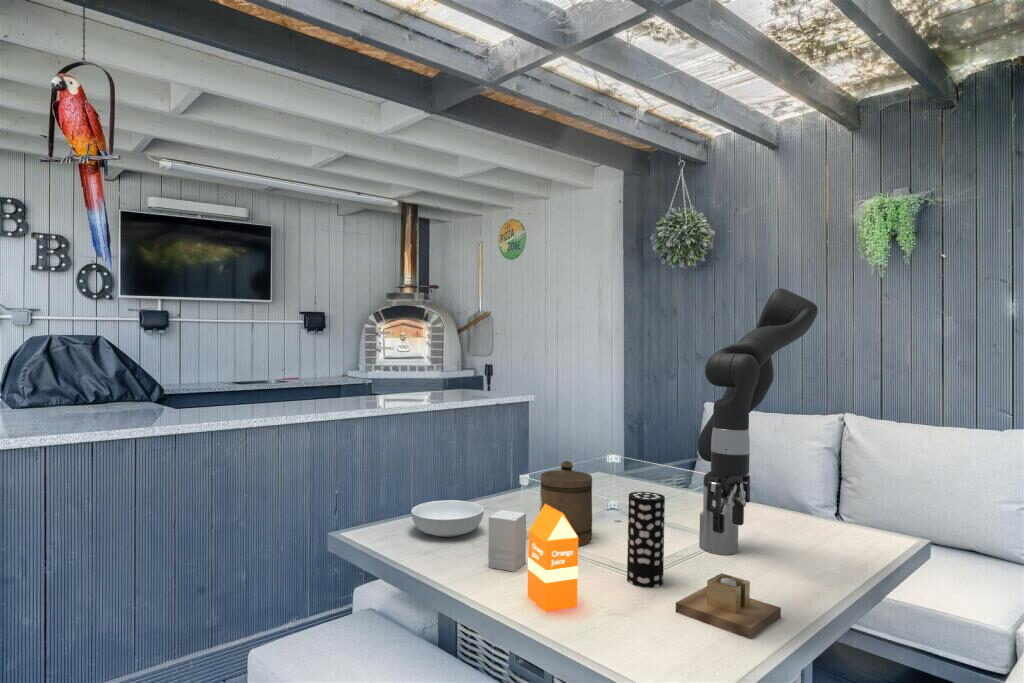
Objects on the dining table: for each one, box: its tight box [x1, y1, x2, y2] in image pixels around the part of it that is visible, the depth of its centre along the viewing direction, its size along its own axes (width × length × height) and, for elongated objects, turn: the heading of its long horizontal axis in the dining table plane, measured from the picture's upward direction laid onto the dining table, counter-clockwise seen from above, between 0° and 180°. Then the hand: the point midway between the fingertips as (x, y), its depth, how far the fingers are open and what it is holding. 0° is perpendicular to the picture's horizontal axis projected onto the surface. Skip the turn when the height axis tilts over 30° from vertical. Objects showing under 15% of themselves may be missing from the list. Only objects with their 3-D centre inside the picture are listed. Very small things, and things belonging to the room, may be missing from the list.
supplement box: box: [487, 509, 527, 573], centre depth 156 cm, size 7×7×13 cm
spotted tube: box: [626, 491, 666, 589], centre depth 147 cm, size 8×8×20 cm
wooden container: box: [539, 460, 593, 548], centre depth 178 cm, size 15×15×22 cm
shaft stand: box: [675, 578, 782, 640], centre depth 130 cm, size 16×14×7 cm
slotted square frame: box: [706, 572, 751, 614], centre depth 130 cm, size 6×6×5 cm
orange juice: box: [527, 504, 579, 613], centre depth 135 cm, size 8×9×20 cm
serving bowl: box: [410, 499, 485, 538], centre depth 182 cm, size 21×21×7 cm
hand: (728, 528), depth 130 cm, fingers open, 8 cm apart
